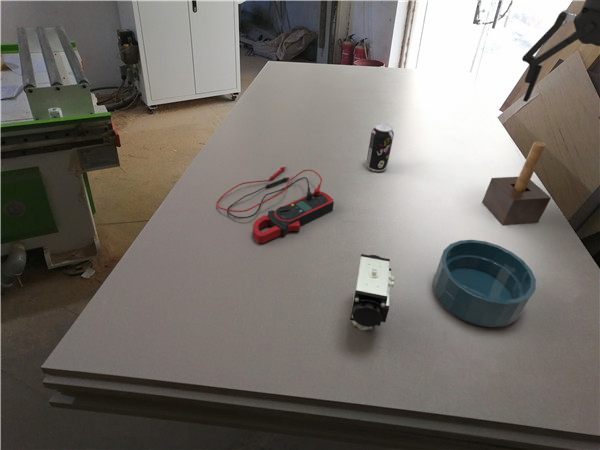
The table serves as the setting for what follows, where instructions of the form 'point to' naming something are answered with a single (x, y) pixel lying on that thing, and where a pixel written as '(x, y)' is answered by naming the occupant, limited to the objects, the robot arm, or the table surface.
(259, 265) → the table surface
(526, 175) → the stirring stick
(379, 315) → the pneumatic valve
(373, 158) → the beverage can
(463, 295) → the bowl
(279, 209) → the digital clamp meter
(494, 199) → the holder
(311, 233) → the table surface
